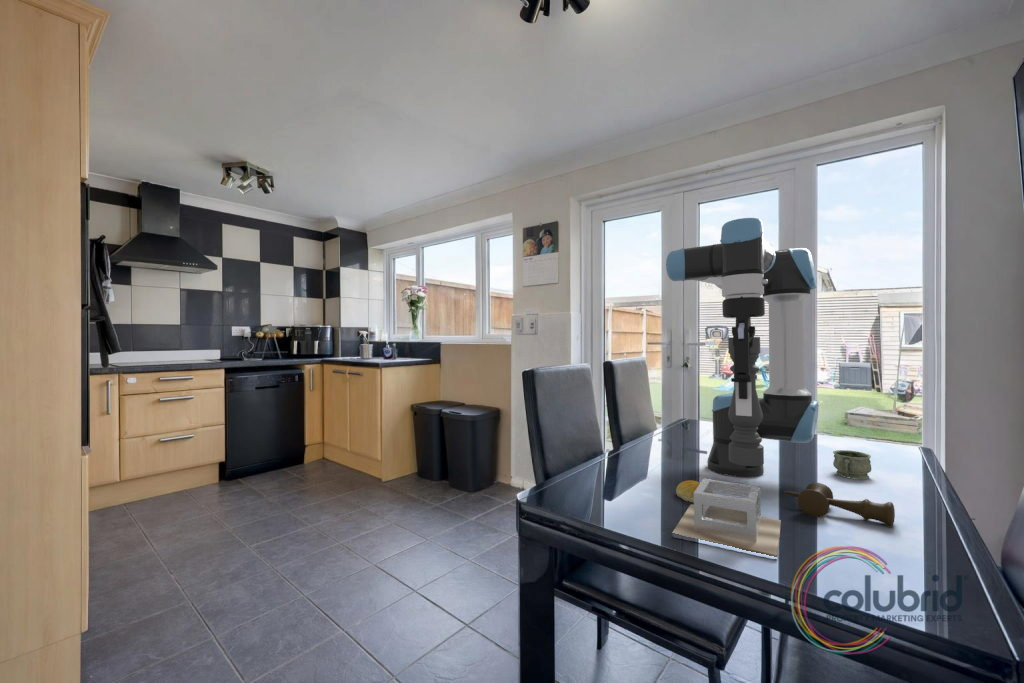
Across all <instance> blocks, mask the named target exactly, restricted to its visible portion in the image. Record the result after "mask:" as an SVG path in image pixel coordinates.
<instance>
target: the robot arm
mask: <svg viewBox="0 0 1024 683" xmlns="http://www.w3.org/2000/svg"><path fill="white" fill-rule="evenodd" d="M764 235H765V231H764V226H763V221H762V220H761V219H760V218H756V217H743V218H738V219H737V218H736V219H732V220H730V221H727V222H725V223H724V224H723V225H722V226H721V234H720V240H719V241H720V242H719V243H715V244H710V245H703V246H695V247H694V246H693V247H688V248H684V247H683V248H680V249H677V250H671V251H670V252H669V253H668V255H667V257H666V260H665V268H666V274H667V276H668V278H669V279H670V280H671V281H673V282H685V281H695V282H696V281H697V282H702V283H706V284H711V285H715V287H717V288H719V289H720V290H721V296H722V298H725V299H723V301H722V308H721V309H722V317H723V318H725V319H735V326H731V335H732V338H733V346H734V362H733V365H734V369H735V374H733V377H732V378H730V381H731V383H734V382H735V393H736V415H739V416H752V397H751V382H750V381H751V378H750V348H751V347H752V346H753V337H755V335H756V326H754V325H753V326H752V322H751V321H752V319H751V318H760V317H764V316H765V314H766V312H765V311H766V310H765V308H766V307H765V306H766V305H765V303H767V304H768V373H769V374H768V377H769V378H768V379H769V383H768V385H769V386H768V387H767V388H766V389H765V390H764V391H762V392H763V393H762V394H763V396H762V397H758V399H759V403H760V406H761V410H762V414H763V419H762V421H761V423H760V424H759V425H758V426H757V427H758V430H757V433H758V434H759V436H760V437H761V438H762V440H773V441H782V442H790V443H803V444H806V443H809V442H812V440H813V439H814V436H815V432H816V428H817V423H818V417H819V402H818V401H816V400H812V399H813V398H812V396H813V395H812V393H811V392H810V391H809V390H808V389H806V388H807V387H806V371H805V370H806V361H805V358H806V355H805V349H806V348H805V302H806V301H807V300H808V299H809V298H810V297H811V290H815V289H817V288H818V287H817V286H818V283H817V274H816V268H815V265H814V264H815V263H814V260H813V256H812V253H811V251H810V250H809V249H807V248H805V247H804V248H803V247H800V248H788V249H781V250H774V248H773V246H772V244H771V243H770V242H768V241H766V240H765V238H764ZM761 296H762V297H761ZM749 337H752V339H751V342H749ZM757 379H758V374H756V380H757ZM732 395H733V392H731V393H729V392H728V393H722V394H717V395H715V397H714V398H713V400H712V410H711V412H712V436H713V437H712V438H713V439H712V440H713V441H712V442H713V443H712V444H711V448H710V451H709V454H708V458H707V462H706V463H707V469H708V470H709V471H710V472H713V473H715V474H716V473H717V474H720V475H723V476H730V477H735V476H736V478H754V477H760V476H762V475H764V474H763V473H764V472H765V471H764V470H765V467H764V464H763V465H761V466H744V465H738V464H734V463H732V462H730V461H729V443H730V442H732V440H731V439H730V436H731V435H732V433H733V432H734V431H735V429H734V428H733V426H734V425H733V424H732V423H731V421H730V419H729V416H728V412H729V408H730V404H731V400H732Z"/></svg>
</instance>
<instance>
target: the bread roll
mask: <svg viewBox="0 0 1024 683" xmlns="http://www.w3.org/2000/svg"><path fill="white" fill-rule="evenodd" d="M700 483H701V481H697V480H692V479H691V480H684V481H681V482H680V483H679V484H678V485H677V487H676V489H675V494H676V495H677V497H678V498H680V499H682V500H683V501H685V502H688V501H689V502H688V503H692V504H694V492H695V490H696V489H697V487H698V486H699V484H700ZM711 493H712V494H715V493H714V491H711Z"/></svg>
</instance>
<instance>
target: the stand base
mask: <svg viewBox="0 0 1024 683" xmlns="http://www.w3.org/2000/svg"><path fill="white" fill-rule="evenodd" d="M709 518H713V519H718V520H724V521H729V522H734V523H740V524H745V525H747V523H746V522H741V521H736V520H730V519H725V518H719V517H714V516H710V517H709ZM781 526H782V520H781V519H776V518H771V517H770V518H769V517H767V516H766V517H764V516H761V523H760V528H759V533H758V538H757V542H756V543H755V542H750V541H745V540H740V539H735V538H730V537H725V536H720V535H716V534H711V533H706V532H701V531H696V530H694V504H690V505H689V506H688V508H687V509H686V511H685V512H684V514H683V515H682V517H681V519H680V520H679V522H678V523H677V524H676V526H675V528H674V529H673V531H672V533H675V534H679V535H682V536H686V537H691V538H695V539H700V540H705V541H709V542H713V543H718V544H723V545H727V546H732V547H735V548H739V549H742V550H746V551H751V552H756V553H761V554H766V555H769V556H774V557H777V556H778V557H779V549H778V547H780V539H779V538H780V537H781ZM672 533H671V534H672Z"/></svg>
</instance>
